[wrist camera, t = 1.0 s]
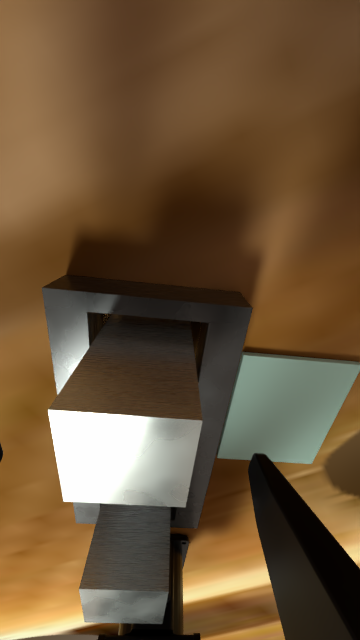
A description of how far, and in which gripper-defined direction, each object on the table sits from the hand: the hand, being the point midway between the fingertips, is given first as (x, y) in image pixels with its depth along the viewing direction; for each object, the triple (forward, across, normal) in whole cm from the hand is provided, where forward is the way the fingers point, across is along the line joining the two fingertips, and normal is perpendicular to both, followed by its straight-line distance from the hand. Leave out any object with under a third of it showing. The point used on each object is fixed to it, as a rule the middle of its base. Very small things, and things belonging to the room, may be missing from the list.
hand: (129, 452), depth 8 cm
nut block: (+7, 0, 0) cm, 7 cm away
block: (+8, 0, +12) cm, 14 cm away
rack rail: (+7, 0, +6) cm, 9 cm away
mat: (+7, -10, +5) cm, 13 cm away
